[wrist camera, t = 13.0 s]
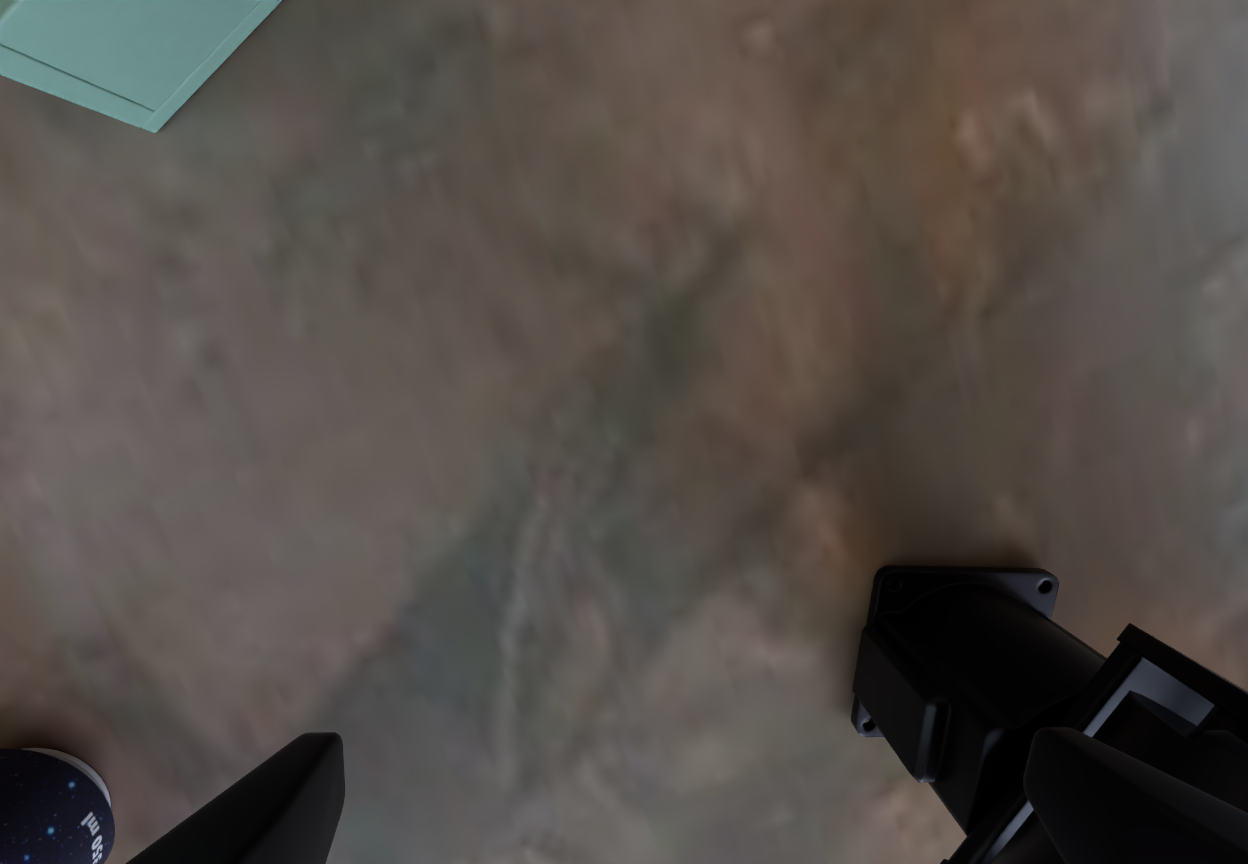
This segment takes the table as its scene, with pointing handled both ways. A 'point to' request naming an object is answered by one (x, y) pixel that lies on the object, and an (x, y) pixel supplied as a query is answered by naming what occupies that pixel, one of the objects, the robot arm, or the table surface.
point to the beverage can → (52, 809)
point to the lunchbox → (123, 50)
